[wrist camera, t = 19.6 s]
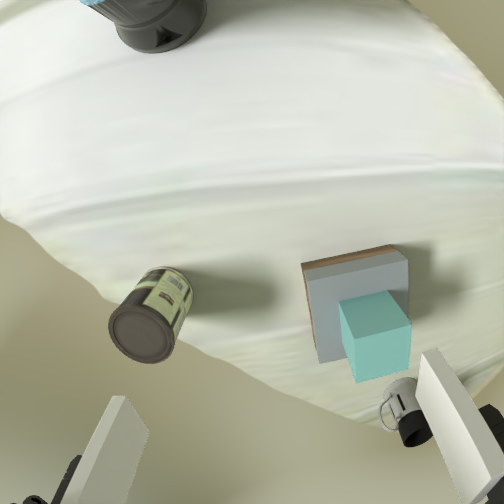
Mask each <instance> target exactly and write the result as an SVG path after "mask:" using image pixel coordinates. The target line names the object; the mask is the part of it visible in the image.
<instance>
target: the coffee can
mask: <svg viewBox="0 0 504 504" xmlns="http://www.w3.org/2000/svg"><path fill="white" fill-rule="evenodd" d="M192 301H193V291H192V288H191V285H190V283H189V282H188V280H187V279H186V278H185V277H184V276H183V275H182V274H181V273H179V272H178V271H176V270H174V269H171V268H167V267H157V268H153V269H151V270H149V271H148V272H147V273H146V274H145V275H144V276H143V278H142V279H141V280H140V281H139V283H138V284H137V285H136V286H135V288H134V289H133V290H132V291H131V292H130V294H129V295H128V296H127V297H126V298H125V300H124V301H123V302H122V304H121V305H120V306H119V307H118V308H117V309H116V310H115V311H114V312H113V313H112V314H111V316H110V319H109V323H108V329H109V334H110V337H111V339H112V341H113V343H114V344H115V346H116V347H117V348H118V349H119V350H120V351H121V352H122V353H123V354H124V355H126V356H128V357H129V358H131V359H133V360H135V361H137V362H141V363H145V364H156V363H160V362H162V361H164V360H166V359H167V358H168V357H169V356H170V355H171V353H172V351H173V348H174V345H175V341H176V339H177V336H178V334H179V331H180V329H181V327H182V324H183V322H184V320H185V317H186V315H187V312H188V310H189V308H190V306H191V304H192Z"/></svg>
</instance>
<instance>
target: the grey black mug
mask: <svg viewBox="0 0 504 504" xmlns="http://www.w3.org/2000/svg"><path fill="white" fill-rule="evenodd" d="M416 386H417V384H416V381H415V380H414V379H413V378H409V377H406V378H401V379H399V380H396V381H395V382H393V383H392V384H390V385H389V386H388V387H387V388H386V390H385V392H384V394H383V398H384V400H385V402H384V403H382V405H381V406H380V408H379V413H378V415H379V421H380V424H381V426H382V427H383V428H384V429H385V430H387V431H388V432H395V431H396V430H397V429H398V430H399V433H400V435H401V438H402V441H403V444H404V446H406V447H415V446H418V445H421V444H423V443H424V442H426V441H428V440H429V439H430V438H431V437H432V436H433V433H432V431H431V429H430V426H429V424H428V422H427V420H426V418H425V416H424V413H423V411H422V409H421V407H420V405H419V403H418V401H417V399H416V397H415V394H416V389H417V387H416ZM386 402H387V403H388V406H389V409H390V411H391V414H392V416H393V419H394V422H395V426H396V429H394V430H393V429H390V428H388V427H386V425H385V424H384V422H383V420H382V416H381V410H382V406H383V405H384V404H385V403H386Z"/></svg>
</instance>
